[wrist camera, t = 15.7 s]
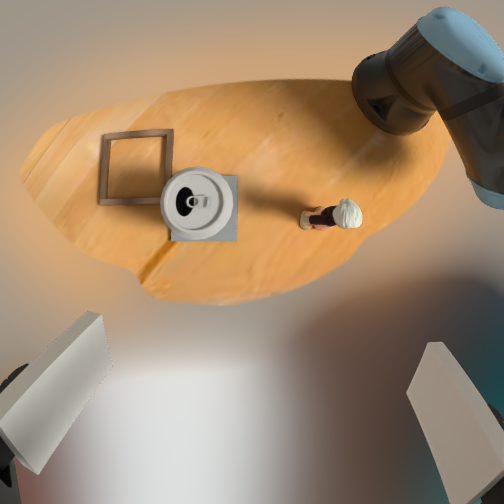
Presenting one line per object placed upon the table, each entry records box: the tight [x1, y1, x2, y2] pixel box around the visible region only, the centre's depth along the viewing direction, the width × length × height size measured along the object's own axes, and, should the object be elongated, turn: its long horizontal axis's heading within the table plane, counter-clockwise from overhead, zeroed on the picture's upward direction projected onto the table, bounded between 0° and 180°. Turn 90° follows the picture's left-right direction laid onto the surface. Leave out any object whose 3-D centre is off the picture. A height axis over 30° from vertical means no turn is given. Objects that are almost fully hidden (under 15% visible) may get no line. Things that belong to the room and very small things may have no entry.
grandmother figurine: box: [300, 198, 362, 231], centre depth 35 cm, size 8×4×13 cm, turn 114°
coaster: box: [171, 175, 238, 241], centre depth 39 cm, size 9×9×1 cm
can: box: [160, 167, 233, 240], centre depth 33 cm, size 8×8×12 cm
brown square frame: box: [100, 129, 174, 205], centre depth 38 cm, size 11×11×1 cm
